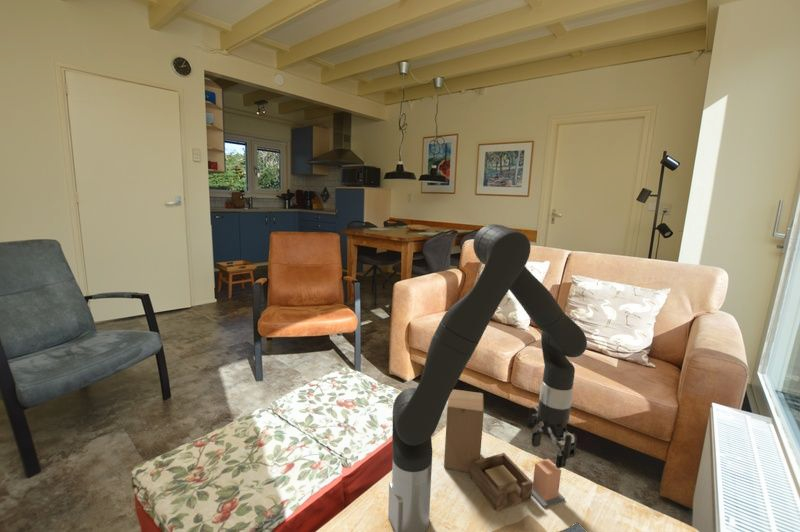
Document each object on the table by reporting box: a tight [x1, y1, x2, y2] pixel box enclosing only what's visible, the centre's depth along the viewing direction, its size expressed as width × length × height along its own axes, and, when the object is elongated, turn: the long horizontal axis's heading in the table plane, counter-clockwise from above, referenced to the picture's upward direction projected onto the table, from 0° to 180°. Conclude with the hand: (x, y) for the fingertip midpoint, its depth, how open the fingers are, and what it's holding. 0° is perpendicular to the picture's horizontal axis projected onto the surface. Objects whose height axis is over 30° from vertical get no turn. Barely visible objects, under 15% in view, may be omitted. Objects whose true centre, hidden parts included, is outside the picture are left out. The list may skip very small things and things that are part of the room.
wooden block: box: [443, 388, 485, 474], centre depth 111 cm, size 10×10×20 cm
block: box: [532, 458, 562, 501], centre depth 100 cm, size 4×4×8 cm
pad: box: [531, 485, 566, 509], centre depth 101 cm, size 7×7×1 cm
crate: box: [470, 452, 533, 512], centre depth 102 cm, size 11×12×5 cm
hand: (547, 455), depth 99 cm, fingers open, 8 cm apart
